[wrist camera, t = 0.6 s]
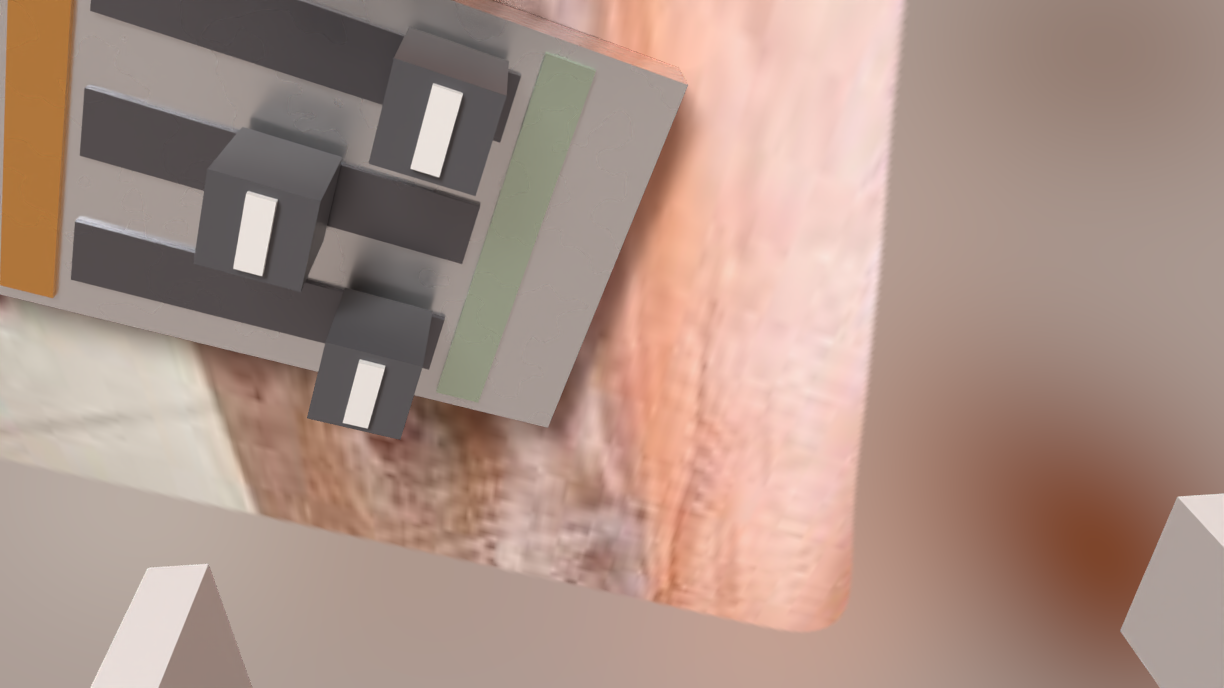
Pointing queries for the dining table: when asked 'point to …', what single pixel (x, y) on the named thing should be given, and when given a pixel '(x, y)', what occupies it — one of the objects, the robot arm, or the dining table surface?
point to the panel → (364, 195)
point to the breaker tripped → (266, 209)
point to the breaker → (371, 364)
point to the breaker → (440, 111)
